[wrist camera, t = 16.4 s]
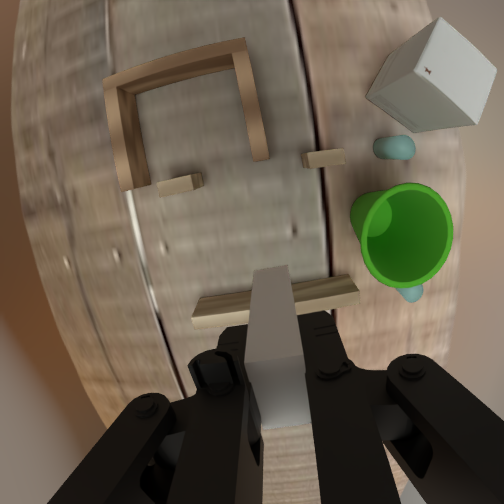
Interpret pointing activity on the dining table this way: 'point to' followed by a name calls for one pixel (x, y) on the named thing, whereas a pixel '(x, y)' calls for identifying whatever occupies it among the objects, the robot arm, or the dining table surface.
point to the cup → (403, 233)
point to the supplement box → (434, 80)
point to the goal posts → (402, 150)
